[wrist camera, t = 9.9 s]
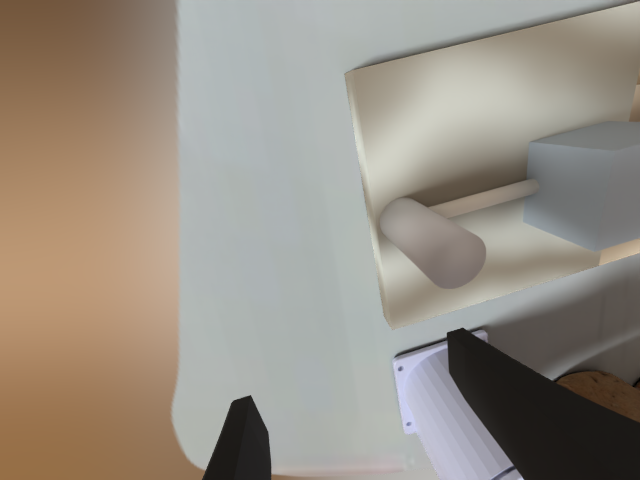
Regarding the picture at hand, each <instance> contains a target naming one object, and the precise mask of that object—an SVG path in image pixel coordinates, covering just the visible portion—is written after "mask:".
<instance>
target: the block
mask: <svg viewBox="0 0 640 480" xmlns="http://www.w3.org/2000/svg"><path fill="white" fill-rule="evenodd" d="M555 383H557V384H559V385H561V386H563V387H565V388H567V389H569V390H571V391H573V392H575V393H576V394H578V395H581V396H583V397H585V398H587V399H589V400H591V401H593V402H595V403H597V404H599V405H602V406H604V407H606V408H608V409H610V410H612V411H615V412H617V413H619V414H621V415H624V416H626V417H628V418H630V419H633V420H635V421H637V422H640V391H639V390H637V389H636V388H634V387H632V386H631V385H629V384H628V383H626V382H624V381H623V380H621V379H620V378H618V377H616V376H614V375H613V374H610V373H607V372H603V371H594V372H590V371H586V372H579V373H574V374H569V375H567V376H564V377H562V378H560V379H559V380H558V381H557V382H555Z"/></svg>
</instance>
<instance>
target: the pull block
mask: <svg viewBox="0 0 640 480" xmlns="http://www.w3.org/2000/svg"><path fill="white" fill-rule="evenodd" d="M521 197H525V201H524V213H523V222H524V223H526V224H528V225H531V226H533V227H536V228H538V229H540V230H543V231H545V232H548V233H550V234H552V235H555V236H557V237H560V238H562V239H565V240H567V241H569V242H572V243H574V244H577V245H579V246H581V247H584V248H586V249H589V250H591V251H593V252H596V251H599V250H603V249H606V248H609V247H612V246H616V245H619V244H622V243H626V242H629V241H632V240H635V239H639V238H640V122H622V121H606V122H602V123H599V124H595V125H591V126H587V127H584V128H580V129H576V130H572V131H569V132H565V133H561V134H557V135H554V136H550V137H546V138H542V139H539V140H535V141H531V142H529V152H528V164H527V176H526V180H525V181H521V182H517V183H514V184H510V185H507V186H503V187H499V188H496V189H492V190H489V191H485V192H481V193H478V194H474V195H471V196H467V197H463V198H460V199H456V200H453V201H449V202H445V203H442V204H438V205H434V206H431V207H426V206H424V205H422V204H420V203H418V202H417V201H415V200H413V199H411V198H407V197H401V198H397V199H395V200H393V201H391V202H390V203H389V204H388V205H387V206H386V207H385V208H384V209H383V211H382V213H381V216H380V228H381V231H382V232H383V234H384V235H385V236H386V237H387V238H388V239H389V240H390V241H391V242H392V243H393V244H394V245H395V246H396V247H397V248H398V249H399V250H400V251H402V252H403V253H404V254H405V255H406V256H407V257H408V258H409V259H410V260H411V261H412V262H413V263H414V264H415V265H416V266H417V267H418V268H419V269H420V270H421V271H422V272H423V273H424V274H425V275H426V276H427V277H428V278H429V279H430V280H431V281H432V282H433V283H434V284H435V285H437V286H438V287H440V288H444V289H455V288H459V287H461V286H464V285H466V284H467V283H469V282H470V281H472V280H473V279H474V278H475V277H476V276H477V275H478V273H479V272H480V271H481V269H482V267H483V265H484V263H485V260H486V247H485V244H484V242H483V241H482V239H481V238H480V237H478V236H477V235H475V234H473V233H471V232H470V231H468V230H466V229H464V228H463V227H461V226H459V225H457V224H456V223H454V222H452V221H450V220H448V219H447V218H450V217H454V216H457V215H461V214H464V213H468V212H471V211H475V210H478V209H482V208H486V207H489V206H493V205H496V204H500V203H503V202H507V201H510V200H514V199H517V198H521Z"/></svg>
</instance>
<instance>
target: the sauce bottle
mask: <svg viewBox="0 0 640 480" xmlns="http://www.w3.org/2000/svg"><path fill="white" fill-rule="evenodd" d="M634 388H636V389H637V390H639V391H640V381H639V382H638V383H637V384H636V386H635V387H634Z"/></svg>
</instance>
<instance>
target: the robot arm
mask: <svg viewBox="0 0 640 480" xmlns="http://www.w3.org/2000/svg"><path fill="white" fill-rule="evenodd" d="M400 366H401V367H400ZM393 369H394V375H395V381H396V387H397V394H398V400H399V406H400V412H401V418H402V425H403V430H404V432H405V434H412V433H415V432H417V434H418V436H419V438H420V440H421V442H422V444H423V446H424V449H425V451H426V453H427V455H428V457H429V459H430V461H431V463H432V465H433V467H434V469H435V471H436V473H437V475H438V477H439V479H440V480H640V422H637V421H635V420H633V419H630V418H628V417H626V416H624V415H621V414H619V413H617V412H615V411H612V410H610V409H608V408H606V407H604V406H602V405H599V404H597V403H595V402H593V401H591V400H589V399H587V398H585V397H583V396H581V395H578V394H576V393H575V392H573V391H571V390H569V389H567V388H565V387H563V386H561V385H559V384H557V383H555V382H553V381H552V380H550V379H548V378H546V377H544V376H542V375H541V374H539V373H537V372H535V371H533V370H532V369H530V368H528V367H527V366H525V365H523V364H521V363H520V362H518V361H516V360H514V359H513V358H511V357H509V356H508V355H506V354H504V353H503V352H501V351H500V350H498V349H496V348H495V347H493V346H491V345H490V344H488V334H487V333H486V332H485V331H484V330H478V331H475V332H472V333H470V332H469V331H467V330H466V329H464V328H460V329H457V330H454V331H451V332H448V333H447V341H444V342H441V343H438V344H435V345H431V346H428V347H425V348H422V349H419V350H416V351H413V352H410V353H406V354H403V355H400V356H397V357H395V358H394V360H393ZM202 480H271V457H270V446H269V435H268V431H267V429H266V426H265V424H264V422H263V420H262V418H261V416H260V414H259V412H258V410H257V407H256V405H255V403H254V401H253V399H252V397H251V395H250V396H246V397H243V398H240V399H237V400H234V401H233V402H232V403H231V406H230V409H229V411H228V414H227V417H226V420H225V423H224V425H223V428H222V431H221V434H220V436H219V439H218V441H217V444H216V447H215V449H214V452H213V454H212V457H211V459H210V462H209V464H208V466H207V469H206V471H205V474H204V476H203V479H202Z"/></svg>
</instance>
